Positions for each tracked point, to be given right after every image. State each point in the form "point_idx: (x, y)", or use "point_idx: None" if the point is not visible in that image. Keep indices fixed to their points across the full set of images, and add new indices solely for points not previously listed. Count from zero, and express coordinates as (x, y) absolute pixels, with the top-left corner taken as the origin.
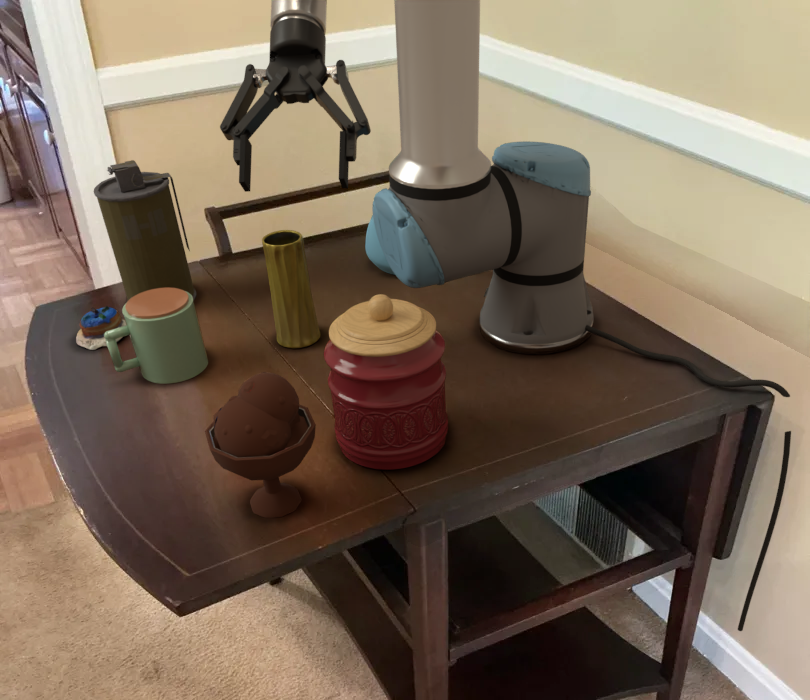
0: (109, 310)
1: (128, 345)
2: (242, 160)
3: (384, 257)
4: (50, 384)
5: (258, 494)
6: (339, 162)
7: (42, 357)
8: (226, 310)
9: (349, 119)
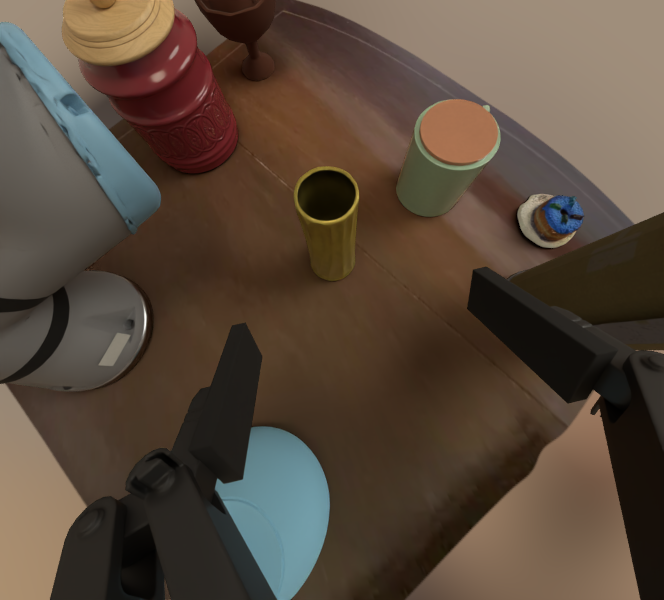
0: (558, 220)
1: (501, 211)
2: (521, 296)
3: (279, 434)
4: (523, 139)
5: (265, 55)
6: (235, 350)
7: (572, 174)
8: (443, 301)
9: (152, 522)
